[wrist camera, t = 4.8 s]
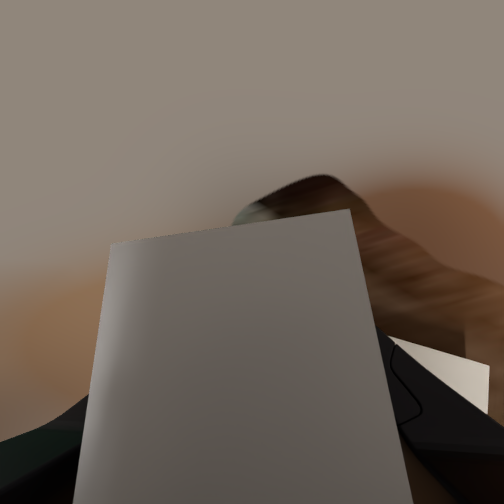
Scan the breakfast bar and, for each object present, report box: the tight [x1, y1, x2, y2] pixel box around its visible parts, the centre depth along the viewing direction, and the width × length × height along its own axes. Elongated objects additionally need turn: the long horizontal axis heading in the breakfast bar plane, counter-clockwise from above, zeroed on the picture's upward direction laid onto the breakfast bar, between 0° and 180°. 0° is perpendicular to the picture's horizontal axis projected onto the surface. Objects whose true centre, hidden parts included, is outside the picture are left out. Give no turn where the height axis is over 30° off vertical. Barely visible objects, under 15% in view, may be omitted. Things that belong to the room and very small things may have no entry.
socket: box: [388, 336, 489, 414], centre depth 16 cm, size 11×11×3 cm
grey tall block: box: [73, 209, 413, 504], centre depth 9 cm, size 5×5×12 cm
